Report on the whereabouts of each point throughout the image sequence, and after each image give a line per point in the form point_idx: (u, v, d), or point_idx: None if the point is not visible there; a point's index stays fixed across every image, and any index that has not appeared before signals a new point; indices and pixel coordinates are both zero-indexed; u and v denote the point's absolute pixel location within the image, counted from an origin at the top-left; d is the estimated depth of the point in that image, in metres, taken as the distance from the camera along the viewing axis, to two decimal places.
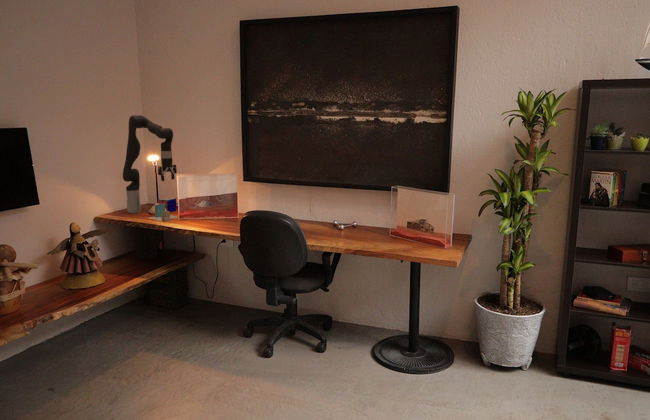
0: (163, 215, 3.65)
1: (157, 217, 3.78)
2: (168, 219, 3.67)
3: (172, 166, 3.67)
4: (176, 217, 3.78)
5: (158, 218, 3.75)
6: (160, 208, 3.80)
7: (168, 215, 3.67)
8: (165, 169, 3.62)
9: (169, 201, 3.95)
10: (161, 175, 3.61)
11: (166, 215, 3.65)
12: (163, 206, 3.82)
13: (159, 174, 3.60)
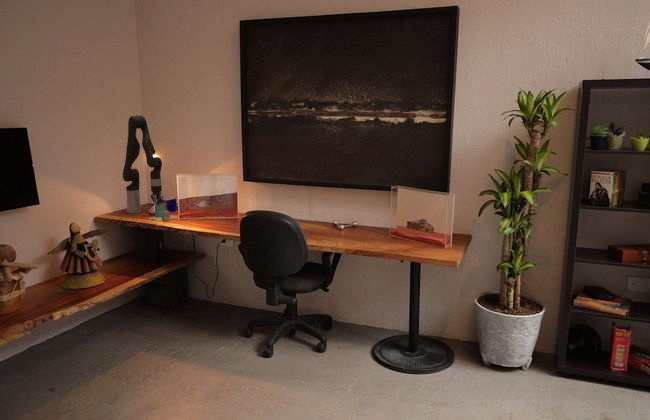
0: (163, 215, 3.65)
1: (157, 217, 3.78)
2: (168, 219, 3.67)
3: None
4: (176, 217, 3.78)
5: (158, 218, 3.75)
6: (160, 208, 3.80)
7: (168, 215, 3.67)
8: None
9: (169, 201, 3.95)
10: (159, 202, 3.81)
11: (166, 215, 3.65)
12: (163, 206, 3.82)
13: (159, 202, 3.80)
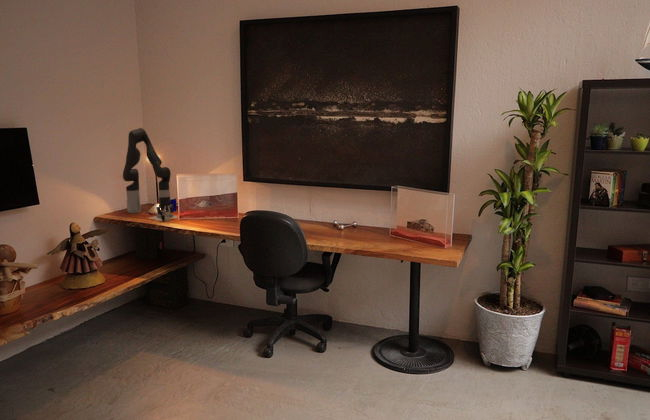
0: None
1: (157, 217, 3.78)
2: (168, 219, 3.67)
3: None
4: (176, 217, 3.78)
5: (158, 218, 3.75)
6: None
7: (168, 215, 3.66)
8: None
9: None
10: None
11: (166, 215, 3.65)
12: None
13: None
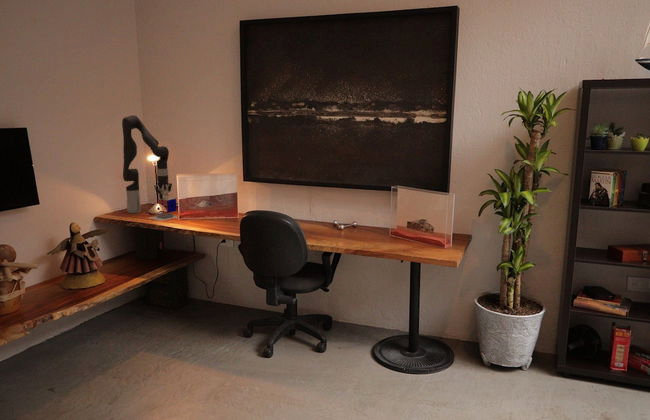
0: None
1: (157, 217, 3.78)
2: (166, 197, 3.74)
3: None
4: (176, 217, 3.78)
5: (158, 218, 3.75)
6: None
7: (166, 194, 3.74)
8: None
9: (169, 201, 3.95)
10: None
11: (164, 194, 3.72)
12: None
13: None
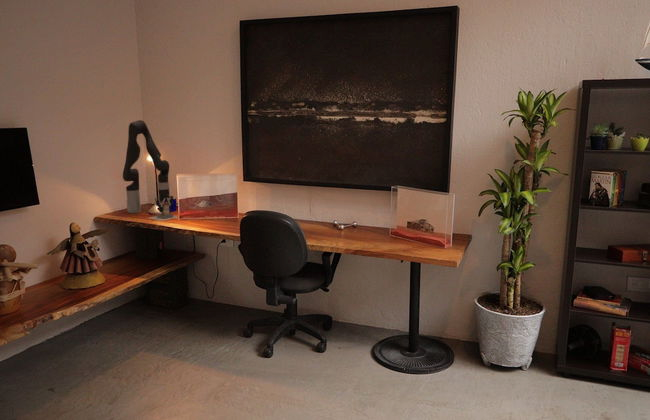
0: (163, 208, 3.75)
1: (157, 217, 3.78)
2: (167, 212, 3.77)
3: (159, 198, 3.73)
4: (176, 217, 3.78)
5: (158, 218, 3.75)
6: None
7: (167, 209, 3.77)
8: None
9: None
10: None
11: (165, 209, 3.75)
12: None
13: (171, 203, 3.81)
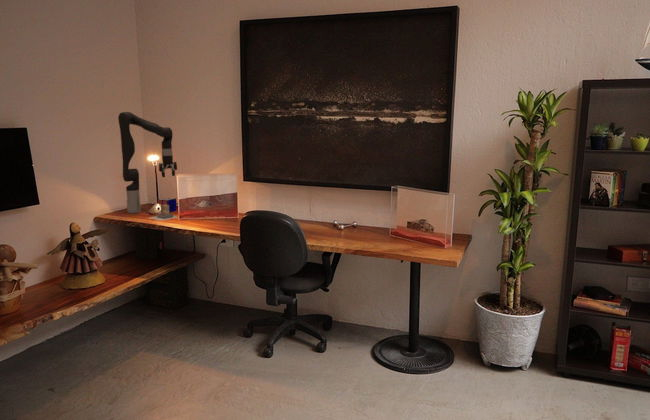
0: (163, 208, 3.75)
1: (157, 217, 3.78)
2: (167, 212, 3.77)
3: None
4: (176, 217, 3.78)
5: (158, 218, 3.75)
6: None
7: (167, 209, 3.77)
8: None
9: (169, 201, 3.95)
10: None
11: (165, 209, 3.75)
12: None
13: None
